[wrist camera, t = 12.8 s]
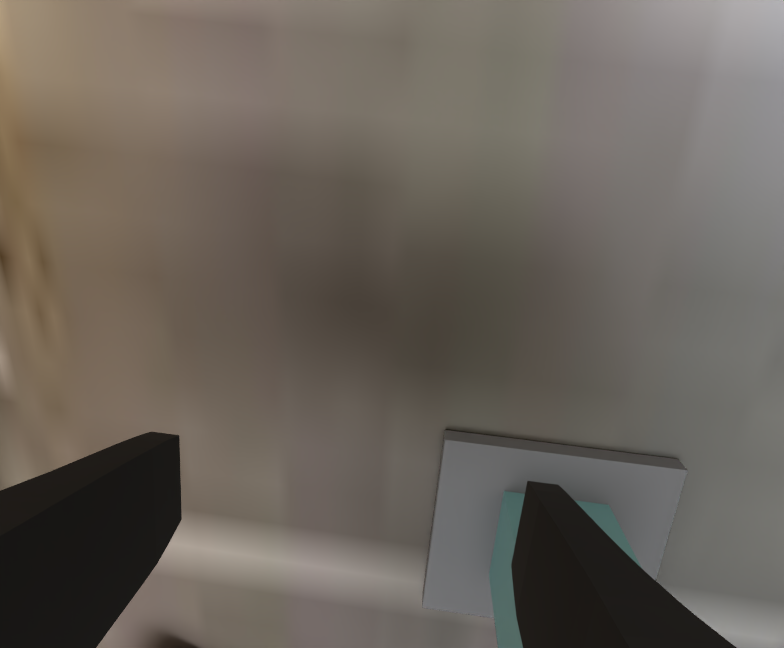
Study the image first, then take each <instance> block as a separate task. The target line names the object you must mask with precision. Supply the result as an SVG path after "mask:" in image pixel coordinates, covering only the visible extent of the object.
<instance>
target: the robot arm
mask: <svg viewBox="0 0 784 648" xmlns="http://www.w3.org/2000/svg"><path fill="white" fill-rule="evenodd" d="M180 521H181V484H180V448H179V435H172V434H164V433H157V432H149V433H145V434H142V435H139V436H136V437H134V438H131V439H128V440H126V441H123V442H121V443H118V444H116V445H113V446H111V447H108V448H106V449H104V450H101V451H99V452H96V453H94V454H92V455H89V456H87V457H84V458H82V459H80V460H77V461H75V462H72V463H70V464H67V465H65V466H63V467H60V468H58V469H55V470H53V471H51V472H48V473H46V474H43V475H40V476H38V477H35V478H33V479H30V480H27V481H25V482H22V483H20V484H17V485H14V486H12V487H9V488H6V489H4V490H1V491H0V648H96V647H97V646H98V644H99V643H100V641H101V640H102V639H103V637H104V636H105V635H106V633H107V632H108V631H109V629H110V628H111V627H112V625H113V624H114V622H115V621H116V620H117V618H118V617H119V616H120V614H121V613H122V612H123V610H124V609H125V607H126V606H127V605H128V603H129V602H130V601H131V599H132V598H133V597H134V595H135V594H136V592H137V591H138V590H139V588H140V587H141V585H142V584H143V583H144V581H145V580H146V579H147V577H148V576H149V574H150V573H151V572H152V570H153V569H154V567H155V566H156V564H157V563H158V561H159V559H160V558H161V556H162V554H163V552H164V551H165V549H166V547H167V545H168V544H169V542H170V540H171V538H172V536H173V534H174V532H175V530H176V529H177V527H178V525H179V523H180ZM511 569H512V580H513V591H514V601H515V610H516V617H517V622H518V627H519V632H520V636H521V641H522V645H523V648H736V647H735V646H733V645H732V644H731V643H730V642H728V641H727V640H726V639H725V638H723V637H722V636H721V635H719V634H718V633H717V632H716V631H714V630H713V629H712V628H711V627H709V626H708V625H707V624H705V623H704V622H703V621H702V620H700V619H699V618H698V617H697V616H695V615H694V614H693V613H692V612H691V611H689V610H688V609H687V608H686V607H685V606H683V605H682V604H681V603H680V602H679V601H678V600H676V599H675V598H674V597H673V596H672V595H671V594H670V593H669V592H667V591H666V590H665V589H664V588H663V587H662V586H661V585H660V584H659V583H657V582H656V581H655V580H654V579H653V578H652V577H651V576H650V575H648V574H647V573H646V572H645V571H644V570H643V569H642V568H641V567H640V566H639V565H638V564H637V563H636V562H635V561H634V560H633V559H631V558H630V557H629V556H628V555H627V554H626V553H625V552H624V551H623V550H622V549H621V548H620V547H619V546H618V545H617V544H616V543H615V542H614V541H613V540H612V539H611V538H610V537H609V536H608V535H607V534H606V533H605V532H604V531H603V530H602V529H601V528H600V527H599V526H598V525H597V524H596V522H595V521H594V520H593V519H592V518H591V517H590V516H589V515H588V514H587V513H586V512H585V511H584V510H583V509H582V508H581V507H580V506H579V505H578V504H577V503H576V502H575V501H574V500H573V499H572V498H571V497H570V496H569V494H568V493H567V492H566V491H564V490H563V489H562V488H561V487H560V486H559V485H557V484H549V483H541V482H534V481H527V485H526V491H525V496H524V501H523V506H522V511H521V517H520V522H519V527H518V532H517V537H516V543H515V548H514V553H513V558H512V563H511Z"/></svg>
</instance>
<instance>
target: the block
mask: <svg viewBox="0 0 784 648" xmlns="http://www.w3.org/2000/svg"><path fill="white" fill-rule="evenodd" d="M524 496H525V494H523V493H515V492H507V491H504V493H503V499H502V505H501V510H500V516H499V521H498V527H497V533H496V538H495V544H494V549H493V555H492V560H491V566H490V572H489V580H490V588H491V596H492V604H493V612H494V619H495V627H496V635H497V643H498V648H523V645H522V641H521V636H520V632H519V627H518V622H517V617H516V610H515V601H514V591H513V580H512V569H511V563H512V558H513V553H514V548H515V543H516V537H517V532H518V527H519V522H520V517H521V511H522V506H523V501H524ZM574 501H575V502H576V503H577V504H578V505H579V506H580V507H581V508H582V509H583V510H584V511H585V512H586V513H587V514H588V515H589V516H590V517H591V518H592V519H593V520H594V521H595V522H596V524H597V525H598V526H599V527H600V528H601V529H602V530H603V531H604V532H605V533H606V534H607V535H608V536H609V537H610V538H611V539H612V540H613V541H614V542H615V543H616V544H617V545H618V546H619V547H620V548H621V549H622V550H623V551H624V552H625V553H626V554H627V555H628V556H629V557H630V558H631V559H633V560H634V561H635V562H636V563H637V564H638V565H639V566H640V567H641V565H640V563H639V562H638V560H637V558H636V556H635V554H634V552H633V550H632V548H631V546H630V544H629V543H628V541H627V539H626V537H625V535H624V533H623V531H622V529H621V527H620V525H619V523H618V522H617V520H616V518H615V516H614V514H613V512H612V510H611V508H610V506H609V505H606V504H598V503H591V502H583V501H576V500H574ZM641 568H642V567H641Z"/></svg>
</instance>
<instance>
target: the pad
mask: <svg viewBox="0 0 784 648" xmlns="http://www.w3.org/2000/svg"><path fill="white" fill-rule="evenodd" d="M687 472H688V470H687V469H686V468H685V467H684V465H683V464H682V463H681V462H680V461H679V460H678V459H673V458H665V457H657V456H649V455H641V454H633V453H625V452H617V451H609V450H602V449H594V448H586V447H578V446H570V445H562V444H554V443H546V442H538V441H530V440H522V439H514V438H506V437H498V436H490V435H482V434H474V433H466V432H458V431H450V430H445V433H444V440H443V448H442V455H441V462H440V470H439V477H438V484H437V492H436V499H435V507H434V514H433V521H432V529H431V536H430V544H429V551H428V558H427V566H426V573H425V580H424V588H423V601H422V608H427V609H434V610H441V611H448V612H455V613H462V614H468V615H475V616H482V617H489V618H494V612H493V604H492V596H491V588H490V580H489V572H490V566H491V560H492V555H493V549H494V544H495V538H496V533H497V527H498V521H499V516H500V510H501V505H502V499H503V493H504V491H507V492H515V493H523V494H525V491H526V485H527V481H534V482H541V483H549V484H557V485H559V486H560V487H561V488H562V489H563V490H564V491H566V492H567V493H568V494H569V496H570V497H571V498H572V499H573V500H576V501H583V502H591V503H598V504H606V505H609V506H610V508H611V510H612V512H613V514H614V516H615V518H616V520H617V522H618V523H619V525H620V527H621V529H622V531H623V533H624V535H625V537H626V539H627V541H628V543H629V544H630V546H631V548H632V550H633V552H634V554H635V556H636V558H637V560H638V562H639V563H640V565H641V567H642V569H643V570H644V571H645V572H646V573H647V574H648V575H650V576H651V577H652V578H653V579H654V580H655V581H656V578H657V574H658V571H659V567H660V564H661V561H662V557H663V554H664V550H665V547H666V543H667V540H668V537H669V533H670V530H671V526H672V523H673V520H674V516H675V513H676V509H677V506H678V502H679V499H680V496H681V492H682V489H683V485H684V482H685V478H686V475H687Z"/></svg>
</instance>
